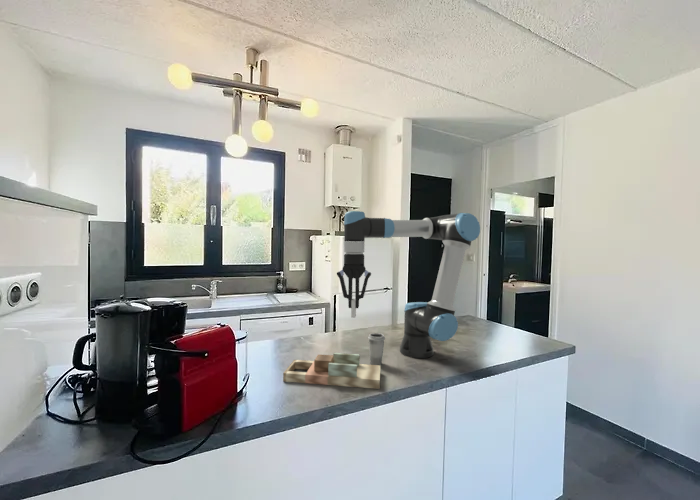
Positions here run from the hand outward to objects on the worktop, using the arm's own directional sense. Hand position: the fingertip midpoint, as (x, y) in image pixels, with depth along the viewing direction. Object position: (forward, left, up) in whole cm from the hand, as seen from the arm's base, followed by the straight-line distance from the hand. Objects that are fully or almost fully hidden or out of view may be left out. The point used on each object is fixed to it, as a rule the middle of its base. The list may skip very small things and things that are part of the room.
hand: (353, 316), depth 115 cm
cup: (-8, -13, -22) cm, 27 cm away
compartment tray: (+7, +2, -22) cm, 23 cm away
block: (+10, +2, -19) cm, 22 cm away
